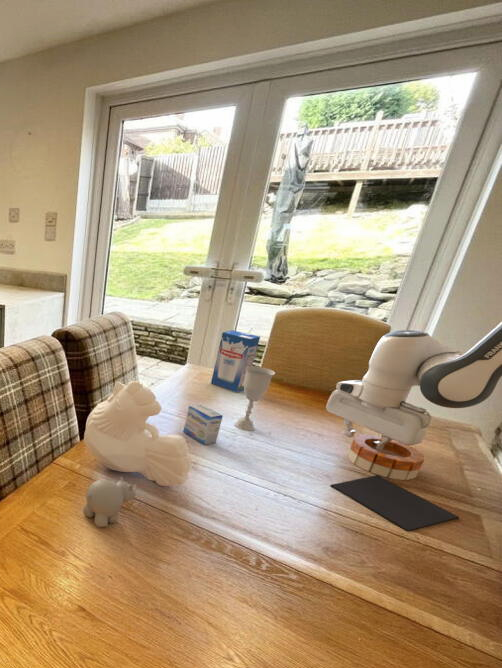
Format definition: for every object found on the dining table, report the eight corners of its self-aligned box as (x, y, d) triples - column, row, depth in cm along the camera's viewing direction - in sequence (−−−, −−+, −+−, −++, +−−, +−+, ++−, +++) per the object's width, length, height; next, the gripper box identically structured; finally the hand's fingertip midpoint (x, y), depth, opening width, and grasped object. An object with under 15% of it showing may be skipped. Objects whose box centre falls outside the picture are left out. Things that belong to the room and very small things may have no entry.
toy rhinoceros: (145, 517, 81) (152, 483, 78) (98, 534, 77) (103, 498, 74) (121, 496, 88) (127, 464, 84) (77, 511, 83) (80, 477, 80)
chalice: (264, 429, 116) (281, 373, 109) (247, 434, 114) (264, 376, 107) (241, 419, 122) (256, 364, 116) (225, 422, 120) (239, 367, 113)
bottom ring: (429, 475, 96) (433, 466, 95) (391, 483, 92) (395, 474, 92) (370, 448, 107) (373, 440, 106) (335, 454, 104) (338, 446, 103)
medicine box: (182, 432, 115) (188, 405, 111) (194, 429, 116) (200, 403, 113) (204, 445, 108) (211, 417, 104) (216, 442, 109) (223, 414, 106)
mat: (458, 518, 82) (459, 516, 81) (407, 531, 78) (408, 530, 78) (377, 476, 95) (377, 474, 95) (330, 486, 91) (330, 484, 91)
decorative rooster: (67, 425, 104) (99, 379, 82) (116, 405, 109) (158, 357, 87) (119, 515, 94) (170, 490, 72) (170, 489, 98) (233, 458, 77)
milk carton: (246, 389, 144) (260, 336, 137) (236, 392, 142) (250, 339, 134) (220, 380, 152) (232, 330, 145) (210, 383, 150) (222, 332, 142)
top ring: (433, 466, 95) (437, 457, 94) (395, 474, 92) (399, 465, 91) (373, 440, 106) (377, 431, 105) (338, 446, 103) (341, 438, 102)
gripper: (444, 410, 89) (419, 462, 95) (348, 378, 108) (332, 423, 113) (424, 413, 88) (400, 466, 93) (331, 380, 106) (315, 425, 111)
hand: (362, 442), depth 103 cm, fingers open, 5 cm apart
